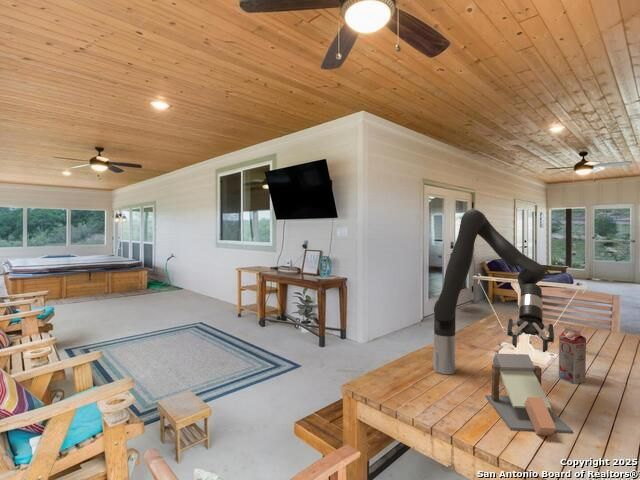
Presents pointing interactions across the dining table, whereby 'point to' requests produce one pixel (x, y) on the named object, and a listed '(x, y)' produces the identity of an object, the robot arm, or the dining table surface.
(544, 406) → the brick
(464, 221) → the robot arm
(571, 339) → the juice carton
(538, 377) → the posts
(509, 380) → the trapdoor
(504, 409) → the mat
